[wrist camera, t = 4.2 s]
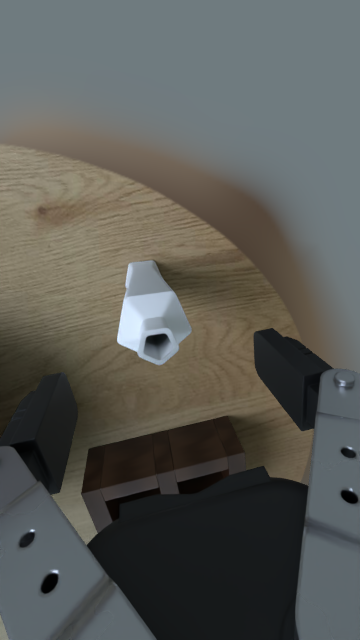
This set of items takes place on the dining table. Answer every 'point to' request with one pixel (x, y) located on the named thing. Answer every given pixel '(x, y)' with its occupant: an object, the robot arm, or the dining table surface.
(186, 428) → the holder
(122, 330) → the perfume bottle
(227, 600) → the robot arm
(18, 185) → the dining table surface
